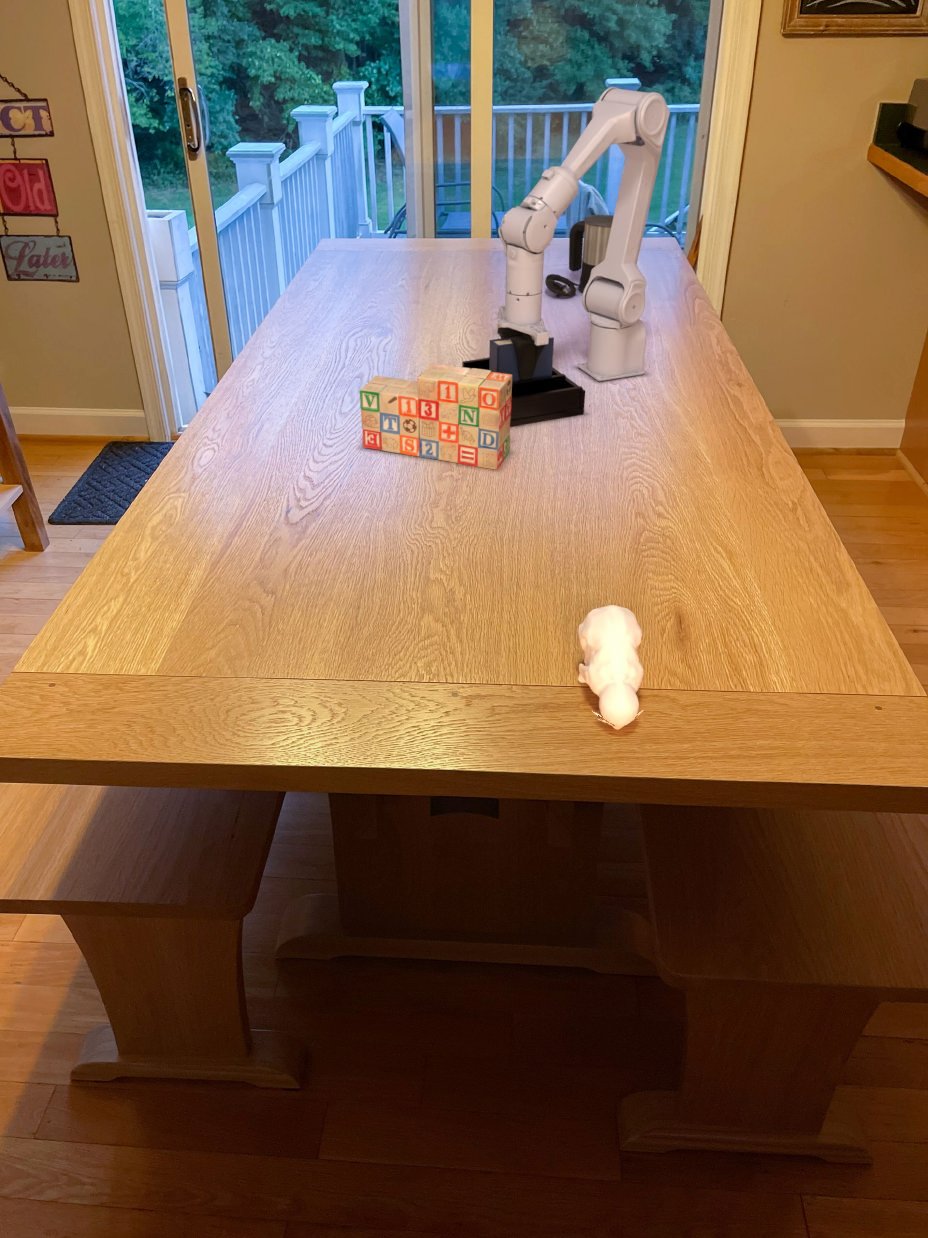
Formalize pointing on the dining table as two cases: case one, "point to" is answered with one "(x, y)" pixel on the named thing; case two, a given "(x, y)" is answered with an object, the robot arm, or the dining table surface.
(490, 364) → the book
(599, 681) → the white animal figurine
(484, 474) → the dining table surface
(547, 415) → the rack
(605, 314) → the robot arm
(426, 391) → the stack of blocks
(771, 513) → the dining table surface
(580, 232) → the milk frother
